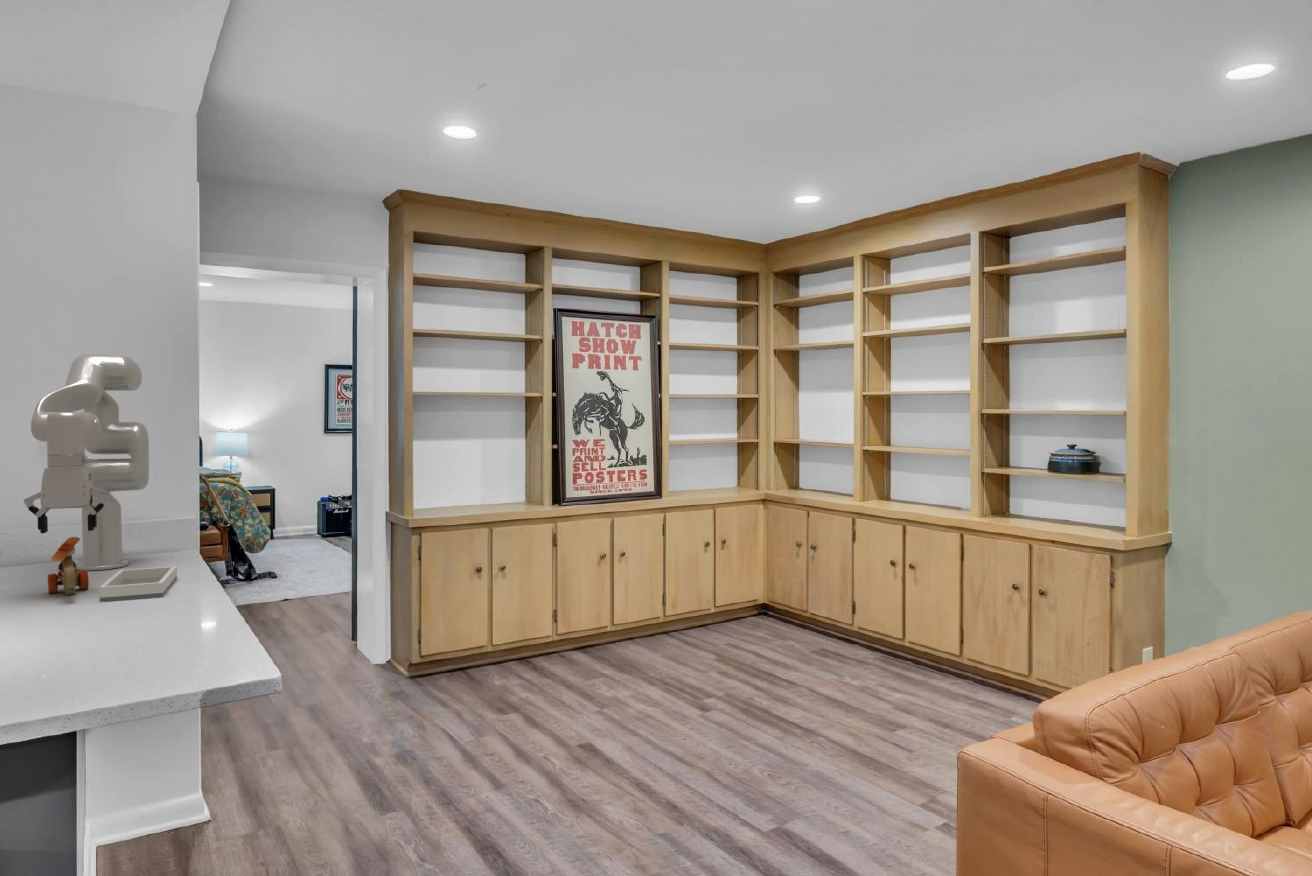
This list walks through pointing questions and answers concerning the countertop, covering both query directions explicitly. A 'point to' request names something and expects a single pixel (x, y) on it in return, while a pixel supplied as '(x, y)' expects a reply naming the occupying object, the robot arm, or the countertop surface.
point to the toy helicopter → (67, 570)
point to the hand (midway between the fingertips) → (67, 531)
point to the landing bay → (138, 583)
